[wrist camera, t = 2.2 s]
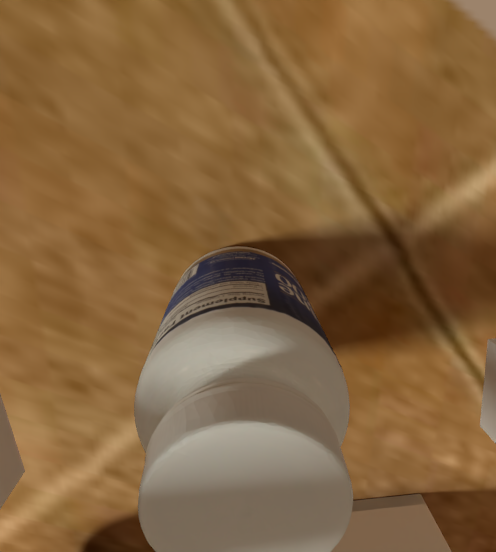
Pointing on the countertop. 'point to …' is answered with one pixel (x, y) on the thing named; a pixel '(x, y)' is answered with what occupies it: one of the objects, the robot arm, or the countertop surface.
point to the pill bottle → (242, 415)
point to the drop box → (392, 527)
